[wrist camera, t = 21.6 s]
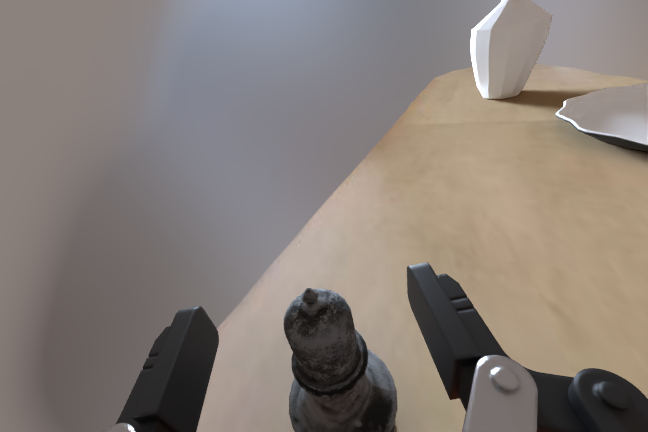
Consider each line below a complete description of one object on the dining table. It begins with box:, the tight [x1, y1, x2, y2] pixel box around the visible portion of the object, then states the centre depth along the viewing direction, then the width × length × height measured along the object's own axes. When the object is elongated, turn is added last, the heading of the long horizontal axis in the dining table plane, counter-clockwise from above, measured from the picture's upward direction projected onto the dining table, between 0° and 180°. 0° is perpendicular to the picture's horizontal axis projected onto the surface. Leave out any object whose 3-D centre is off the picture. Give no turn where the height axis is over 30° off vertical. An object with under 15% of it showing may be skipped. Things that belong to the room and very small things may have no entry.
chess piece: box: [284, 288, 397, 432], centre depth 14 cm, size 6×6×12 cm
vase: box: [470, 0, 552, 99], centre depth 59 cm, size 14×14×25 cm
